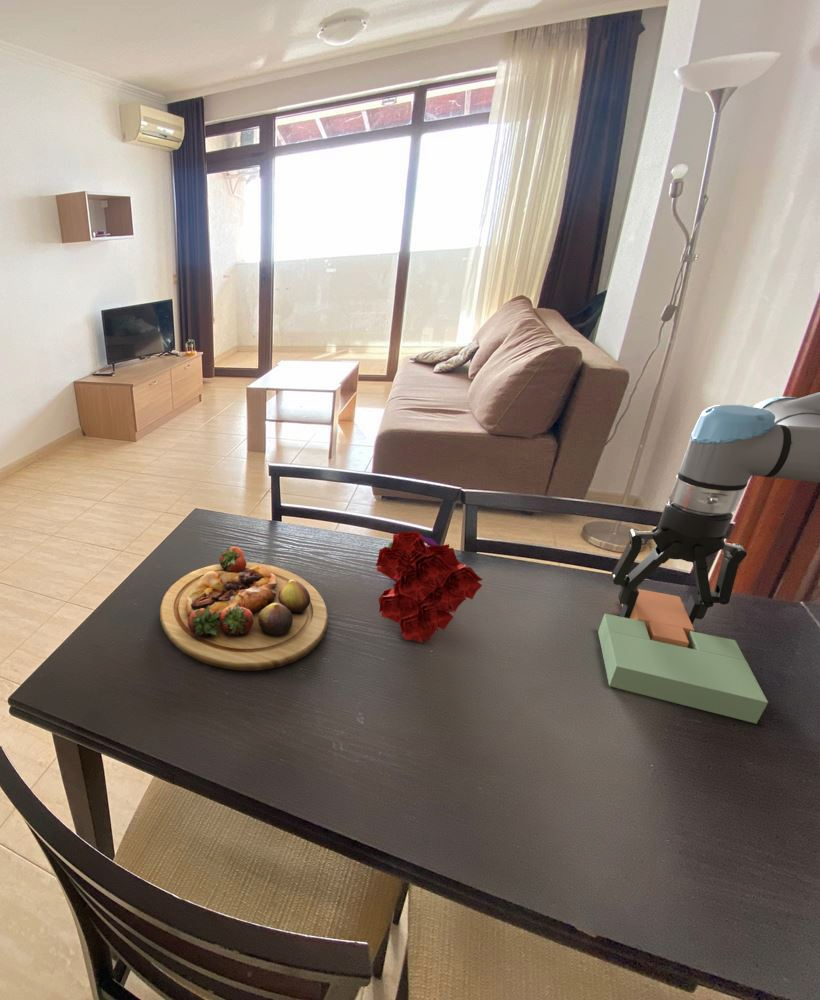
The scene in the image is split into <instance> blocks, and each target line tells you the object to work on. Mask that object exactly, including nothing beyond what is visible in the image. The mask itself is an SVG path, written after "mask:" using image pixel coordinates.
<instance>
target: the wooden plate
mask: <svg viewBox="0 0 820 1000" xmlns="http://www.w3.org/2000/svg"><path fill="white" fill-rule="evenodd" d="M218 560H219V563H216V564H212V565H207V566H205V567H202V568H198V569H196V570H193V571H191V572H189V573H187V574H185V575H184V576H182V577H180V578H179V579H178V580H177V581H175V582H174V583H173V584H172V585H171V586H170V587H169V588H168V590H167V591H165V594H164V596H163V598H162V600H161V604H160V606H159V607H160V608H159V620H160V624H161V627H162V629H163V632H164V633H165V635H166V637H167V638H168V639H169V640H170V642H171V643H172V644H173V645H174V646H175V647H177V648H178V649H179V650H180V651H181V652H183V654H186V655H187V656H189V657H192V658H193V659H195V660H197V661H199V662H201V663H204V664H207V665H210V666H213V667H217V668H223V669H227V670H234V671H264V670H271V669H275V668H276V669H277V668H279V667H284V666H286V665H289V664H292V663H294V662H296V661H298V660H301V659H302V658H305V657H306V656H307V655H308V654H310V653H311V652H312V651H313V650H314V649H316V647H317V646H318V645H320V643H321V642H322V640H323V639H324V638H325V637H324V636H325V635H326V632H327V628H328V625H329V614H328V613H329V612H328V608H327V605H326V603H325V601H324V599H323V597H322V595H321V594H320V592H319V591H318V590H317V589H316V588H315V586H313V585H311V583H309V582H308V581H307V580H305V579H304V578H302V577H301V576H299V575H297V574H295V573H293V572H291V571H289V570H286V569H283V568H281V567H277V566H274V565H270V564H265V563H264V564H263V563H260V562H259V563H258V562H250V561H246V558H245V552H244V551H243V550H242V549H241V548H240V547H238V546H231V547H230V548H227V549H226V551H224V552H223V551H221V554H220V555H219V559H218Z"/></svg>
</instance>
